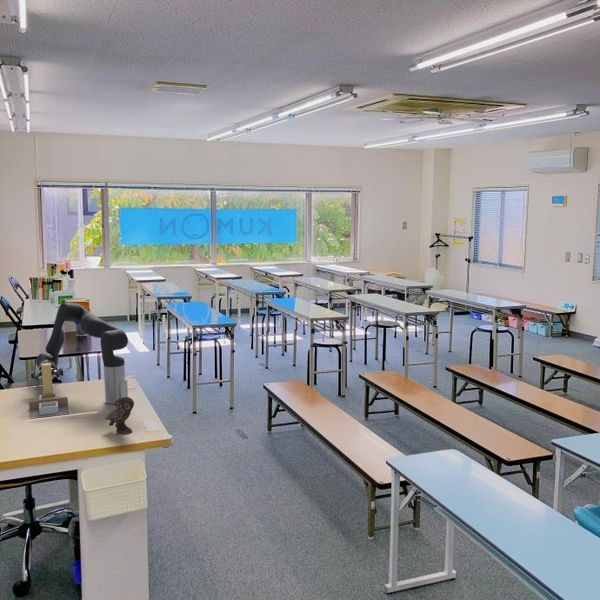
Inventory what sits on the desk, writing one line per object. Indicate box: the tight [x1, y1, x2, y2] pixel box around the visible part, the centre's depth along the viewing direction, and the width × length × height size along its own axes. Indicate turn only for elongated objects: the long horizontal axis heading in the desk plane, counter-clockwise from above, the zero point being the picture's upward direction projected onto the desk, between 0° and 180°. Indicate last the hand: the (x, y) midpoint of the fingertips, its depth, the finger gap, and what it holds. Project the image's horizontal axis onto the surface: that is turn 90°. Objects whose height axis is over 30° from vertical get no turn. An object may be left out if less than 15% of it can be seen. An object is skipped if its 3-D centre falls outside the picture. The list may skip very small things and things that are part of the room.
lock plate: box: [28, 392, 70, 420], centre depth 281 cm, size 24×16×4 cm, turn 22°
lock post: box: [41, 363, 54, 399], centre depth 286 cm, size 4×4×18 cm
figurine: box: [104, 396, 135, 435], centre depth 251 cm, size 13×6×15 cm, turn 65°
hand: (47, 377), depth 294 cm, fingers open, 8 cm apart
